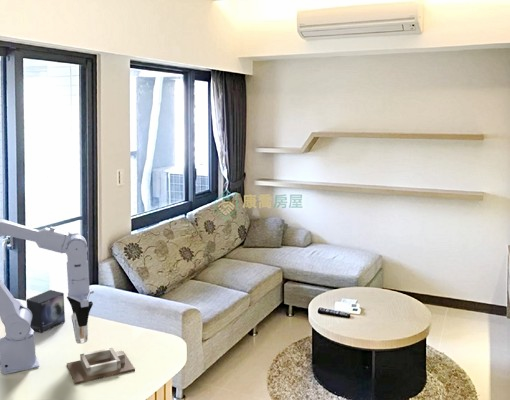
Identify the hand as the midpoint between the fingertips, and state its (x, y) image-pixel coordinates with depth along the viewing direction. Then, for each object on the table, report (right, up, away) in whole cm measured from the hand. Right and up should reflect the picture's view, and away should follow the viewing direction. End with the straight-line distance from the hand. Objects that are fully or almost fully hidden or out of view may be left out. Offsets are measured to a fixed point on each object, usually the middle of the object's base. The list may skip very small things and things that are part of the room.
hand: (80, 322), depth 157 cm
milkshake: (0, -6, +1) cm, 6 cm away
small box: (-18, -7, +23) cm, 30 cm away
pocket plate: (+7, -12, -5) cm, 14 cm away
